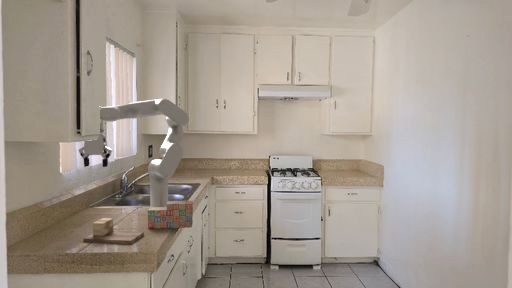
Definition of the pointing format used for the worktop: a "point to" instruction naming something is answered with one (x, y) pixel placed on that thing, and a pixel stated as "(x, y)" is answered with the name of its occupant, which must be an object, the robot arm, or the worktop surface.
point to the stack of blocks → (171, 215)
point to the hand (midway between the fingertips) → (95, 166)
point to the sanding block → (103, 227)
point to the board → (116, 237)
